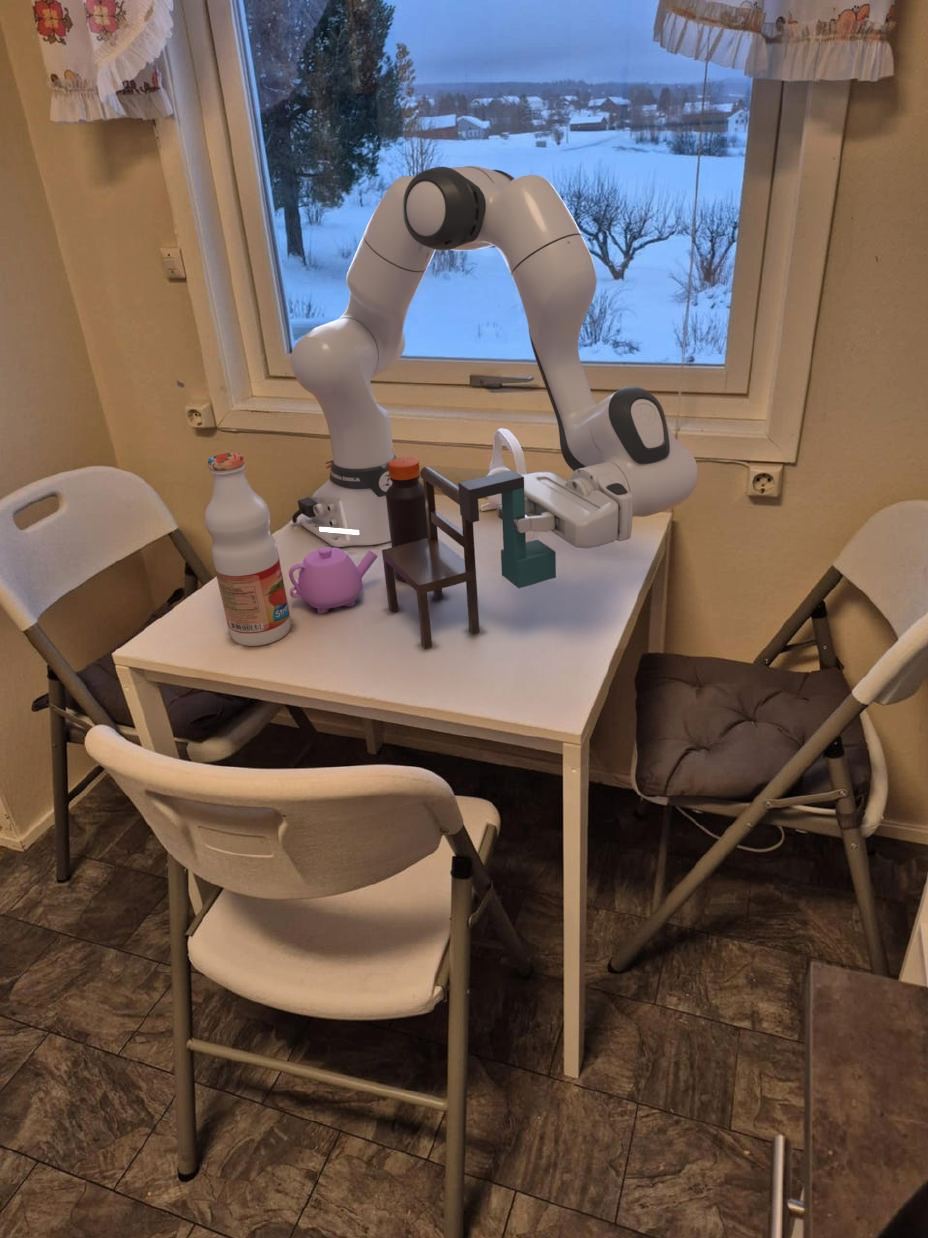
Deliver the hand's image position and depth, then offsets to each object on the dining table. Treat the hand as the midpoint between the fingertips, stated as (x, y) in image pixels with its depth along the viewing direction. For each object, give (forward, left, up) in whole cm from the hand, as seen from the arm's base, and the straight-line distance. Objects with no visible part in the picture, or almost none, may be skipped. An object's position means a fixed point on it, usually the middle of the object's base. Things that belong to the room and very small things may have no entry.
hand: (507, 519), depth 114 cm
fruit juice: (-33, -21, -20) cm, 44 cm away
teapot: (-32, -7, -20) cm, 38 cm away
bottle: (-28, +7, -20) cm, 35 cm away
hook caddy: (0, +1, -9) cm, 9 cm away
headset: (-28, +32, -20) cm, 47 cm away
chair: (-14, -2, -20) cm, 24 cm away
